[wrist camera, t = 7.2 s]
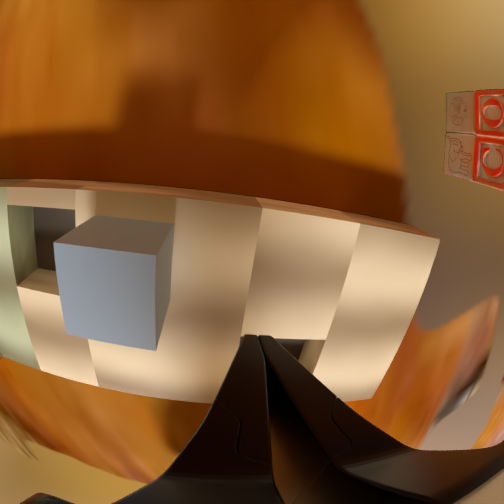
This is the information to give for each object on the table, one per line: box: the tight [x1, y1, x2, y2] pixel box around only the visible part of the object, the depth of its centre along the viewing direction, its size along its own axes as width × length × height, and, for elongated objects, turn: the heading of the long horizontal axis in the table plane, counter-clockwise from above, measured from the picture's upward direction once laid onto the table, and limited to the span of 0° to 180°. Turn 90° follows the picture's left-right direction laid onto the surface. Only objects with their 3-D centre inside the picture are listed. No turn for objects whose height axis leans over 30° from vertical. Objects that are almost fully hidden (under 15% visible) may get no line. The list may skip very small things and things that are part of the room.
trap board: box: [0, 179, 440, 404], centre depth 15 cm, size 13×30×4 cm, turn 81°
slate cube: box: [53, 215, 175, 351], centre depth 11 cm, size 4×4×4 cm
